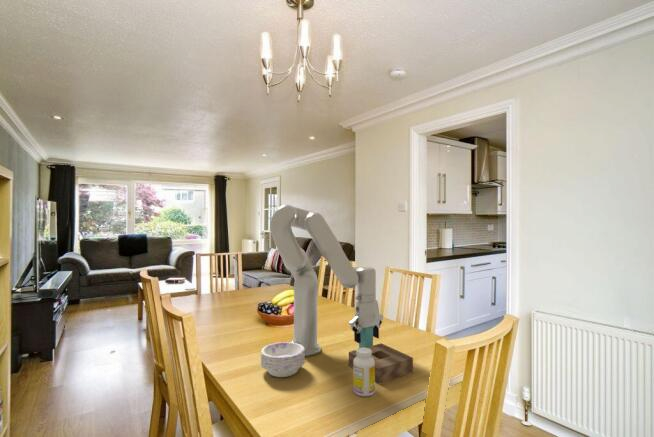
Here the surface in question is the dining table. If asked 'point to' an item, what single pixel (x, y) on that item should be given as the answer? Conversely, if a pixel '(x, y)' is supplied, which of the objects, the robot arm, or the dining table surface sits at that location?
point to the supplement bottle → (364, 372)
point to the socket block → (387, 362)
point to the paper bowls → (282, 358)
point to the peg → (366, 337)
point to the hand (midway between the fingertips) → (366, 339)
